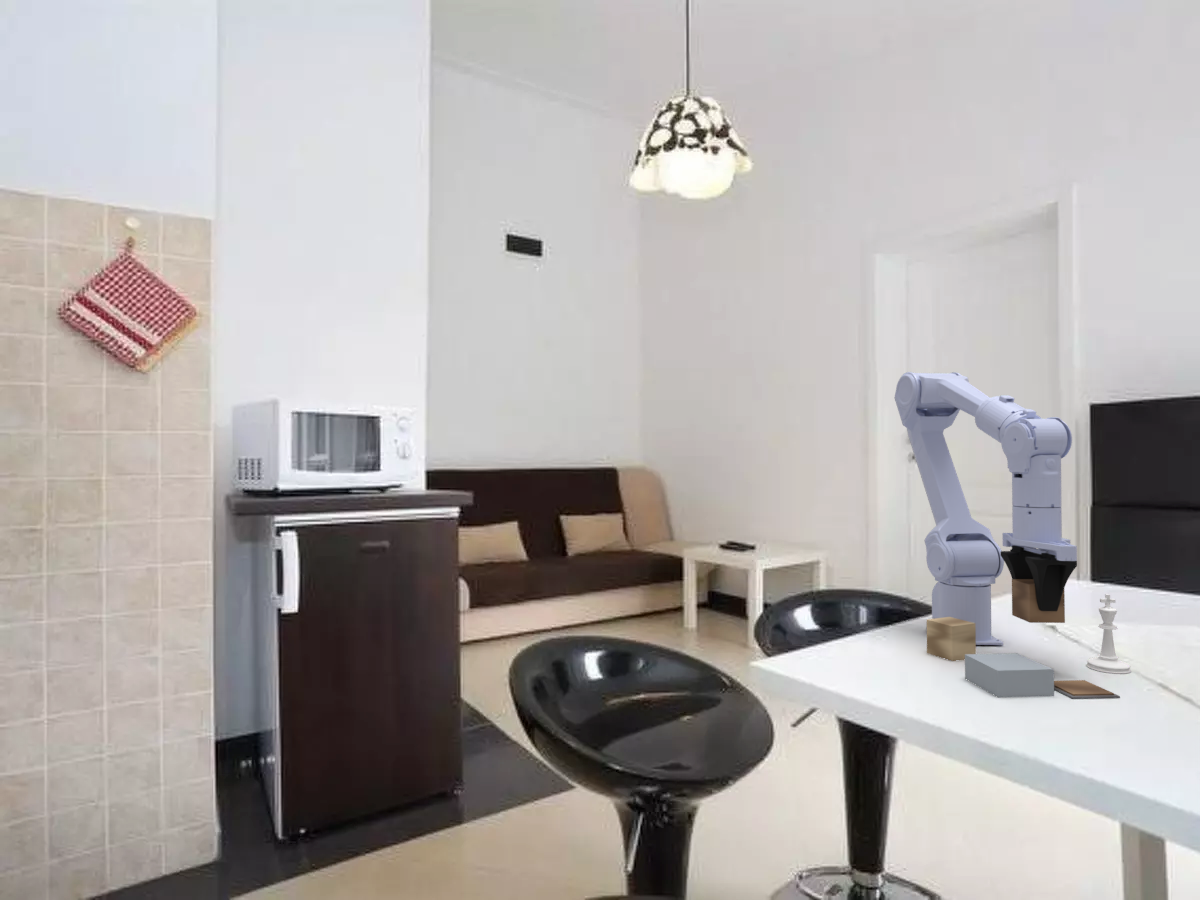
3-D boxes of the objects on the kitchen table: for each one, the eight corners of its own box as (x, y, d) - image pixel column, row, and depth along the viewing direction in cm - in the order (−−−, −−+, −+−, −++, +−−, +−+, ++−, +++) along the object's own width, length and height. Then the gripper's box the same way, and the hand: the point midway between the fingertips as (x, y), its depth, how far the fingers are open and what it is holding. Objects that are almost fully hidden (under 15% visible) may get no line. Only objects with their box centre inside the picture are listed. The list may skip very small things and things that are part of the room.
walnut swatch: (1040, 683, 91) (1040, 679, 91) (1085, 682, 91) (1085, 679, 91) (1072, 698, 85) (1072, 695, 85) (1119, 697, 85) (1119, 694, 85)
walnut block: (1012, 615, 99) (1011, 579, 99) (1045, 615, 99) (1045, 579, 99) (1029, 622, 95) (1029, 584, 95) (1064, 622, 94) (1064, 585, 94)
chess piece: (1138, 674, 94) (1137, 598, 94) (1096, 672, 95) (1096, 597, 95) (1119, 664, 98) (1118, 591, 99) (1079, 662, 99) (1078, 590, 100)
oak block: (926, 653, 105) (926, 619, 105) (949, 650, 106) (949, 616, 106) (952, 661, 100) (952, 626, 100) (975, 658, 102) (975, 623, 102)
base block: (965, 681, 93) (964, 654, 93) (1017, 679, 93) (1016, 653, 93) (997, 699, 86) (997, 670, 86) (1054, 698, 86) (1053, 669, 86)
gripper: (1101, 510, 89) (1102, 619, 89) (1037, 502, 104) (1038, 595, 104) (1043, 510, 90) (1044, 618, 90) (987, 502, 104) (988, 595, 104)
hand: (1037, 606), depth 97 cm, fingers closed on walnut block, 4 cm apart
